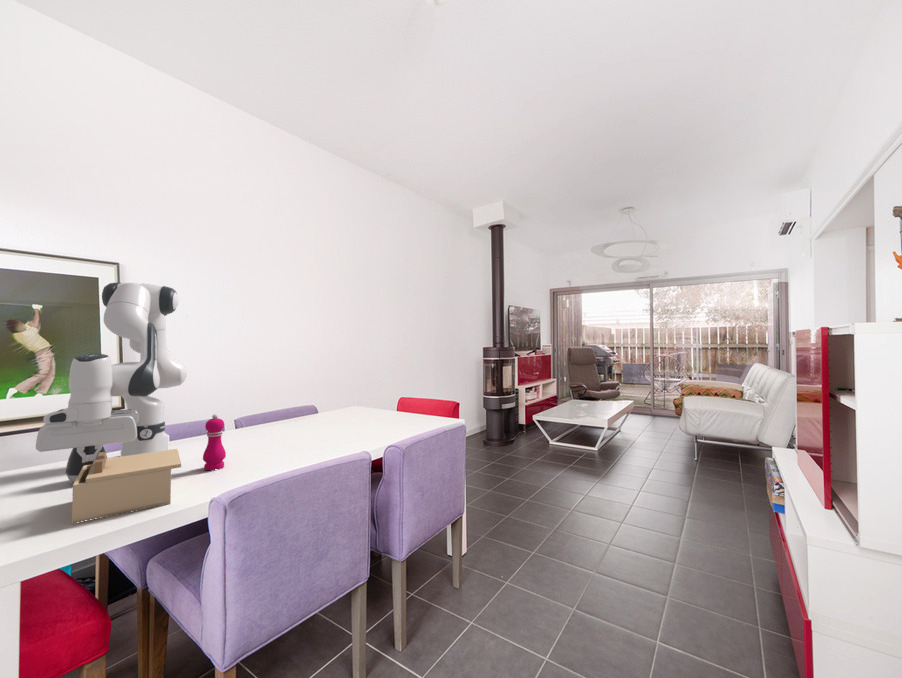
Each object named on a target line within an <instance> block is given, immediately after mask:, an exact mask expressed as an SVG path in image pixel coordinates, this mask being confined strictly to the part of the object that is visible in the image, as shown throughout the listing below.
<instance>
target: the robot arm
mask: <svg viewBox="0 0 902 678" xmlns="http://www.w3.org/2000/svg"><path fill="white" fill-rule="evenodd" d="M101 300H102V303H103V306H104V307H105V310H104V313H103V323H104V325H105V327H106V328H107V329H108V330H109V331H110V333H113V334H114V335H116V336H118V337H121V338H123V339H127V340H129V347H130V348H131V350H133V351H134V352H136V353H138V354H140V356H139V357H140V360H139V361H130V362H129V361H128V362H127V361H125V362H119V363H113V364H112V361H111V356H109V355H108V354H104V353H88V354H81V355H78V356H76V357H74V358H73V359H72V362H71V365H70V369H69V376H68V389H69V392H70V397H69V399H68V403H67V404H68V406H67V407H66V408H62V409H59V410H56V411H52V412H50V413H47V414H45V416H43V421H42V422H43V423H44V425H42V426H41V427H40V428H39V430H38V432H37V435H36V440H35V441H36V443H35V449H36V451H38V452H40V453H43V452H51V451H60V450H66V449H67V450H68V449H73V448H77V453H78V454H79V455H80V456H81V457H82V463H87V462H94V461H95V460H96V458H97V454H98V453H99V451H100V450H101V449H102V445H103V446H104V445H110V444H119V443H120V456H119V457H122V456H129V455H136V454H143V453H151V452H158V451H165V450H171V449H170V435H169V434H168V433H166V431H165V430H166V421H165V416H164V415H165V404H164V402H163V401H162V400H160V399H158V398H156V397H153V396H150V395H151V394H153V393H155V391H157V390H158V389H168V388H172V387H178V386H181V385H182V384H183V383H184V382H185V381H186V379H187V374H188V373H187V369H186V367H185V366H184V365H183V363H181V362H179V361H178V360H176V359H175V358H174V357H173V356H172V355H171V354H170V353H169V351H168V348H167V347H168V346H167V340H166V325H167V324H166V316H168V315H170V314H172V313H174V312H175V311H176V309H177V307H178V306H179V295H178V293H177V291H176V289H174V288H172V287H170V286H165V285H163V286H160V285H155V284H150V283H149V284H148V283H134V282H124V283H123V282H119V281H118V282H110V283H108V284H106V285H105V286H104V287H103V289H102V292H101ZM112 397H122V399H123V400H124V402H125V404H126V408H127V409H115V410H113V398H112ZM86 446H95V449H97V450H96V452H95V453H94V454H92V455H86V454H85V453H84V452H83V450H84V449H85V447H86Z"/></svg>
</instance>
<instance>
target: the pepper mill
mask: <svg viewBox="0 0 902 678" xmlns="http://www.w3.org/2000/svg"><path fill="white" fill-rule="evenodd" d="M211 417H212V418H210V419H208V420H207V421H206V422H205V425H204V427H205V430H206V431H207V432H206V437H207V439H208V440H207V445H206V448H205V450H204V452H203V455H202V460H203V461H204V462H205V463H204V464H203V466H204V467H203V468H204V469H205V470H204V469H203V470H204V471H206V470H213V471H216V470H215V469H218V470H221V469H223V468H225V462H224V460H225V459H226V453H227V452H226V450H225V448H224V445H223V442H222V435H223V432H224V431H223V429H224V428H225V421H224V419H222V418H219V416H218V414H217V413H214V414H213V415H212V416H211ZM220 468H221V469H220Z"/></svg>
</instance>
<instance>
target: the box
mask: <svg viewBox="0 0 902 678" xmlns="http://www.w3.org/2000/svg"><path fill="white" fill-rule="evenodd" d="M92 465H93V464H92ZM92 465H85V466H83V468H82V470H81V472H80V473H79V475H78V477H77V479H76V480H75V482H74V483H73V484H72V502H71V503H72V504H71V506H72V508H71V524H72V523H77V522H81V521H85V520H90V519H95V518H100V517H105V518H107V517H106V516H110V517H112V516H111V515H115V516H117V515H116V514H119V515H122V514H121V513H124V514H127V513H126V512H129V513H132V512H131V511H134V512H137V511H136V510H138V511H142V510H141V509H143V510H148V509H151V508H150V507H153V508H156V506H157V507H160V505H162V506H166V505H165V504H167V505H170V504H171V501H172V500H171V497H172V496H171V493H172V491H171V488H172V487H171V485H172V469H168V470H162V471H156V472H149V473H143V474H137V475H131V476H125V477H119V478H113V479H107V480H101V481H95V482H89V483H86V478H87V475H88V473H89V471H90V469H91V467H92ZM169 503H170V504H169ZM147 508H148V509H147ZM100 519H101V518H100ZM81 523H82V522H81ZM77 524H78V523H77Z"/></svg>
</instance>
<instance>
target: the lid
mask: <svg viewBox="0 0 902 678" xmlns="http://www.w3.org/2000/svg"><path fill="white" fill-rule="evenodd" d="M106 455H107V451H105V452H100V453H99V454H98V456H97V458H96V460H95V461H94V463H93V465H92V467H91V469H90V471H89V473H88V475H87V478H86V483H89V482H95V481H101V480H107V479H113V478H119V477H125V476H131V475H137V474H143V473H149V472H156V471H162V470H168V469H171V470H172V469H179V468H182V462H181V458H180V454H179V451H178V448H174V449H170V450H165V451H158V452H151V453H143V454H136V455H129V456H122V457H120V456H116V457H109V458H108V457H107V459H106Z"/></svg>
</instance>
